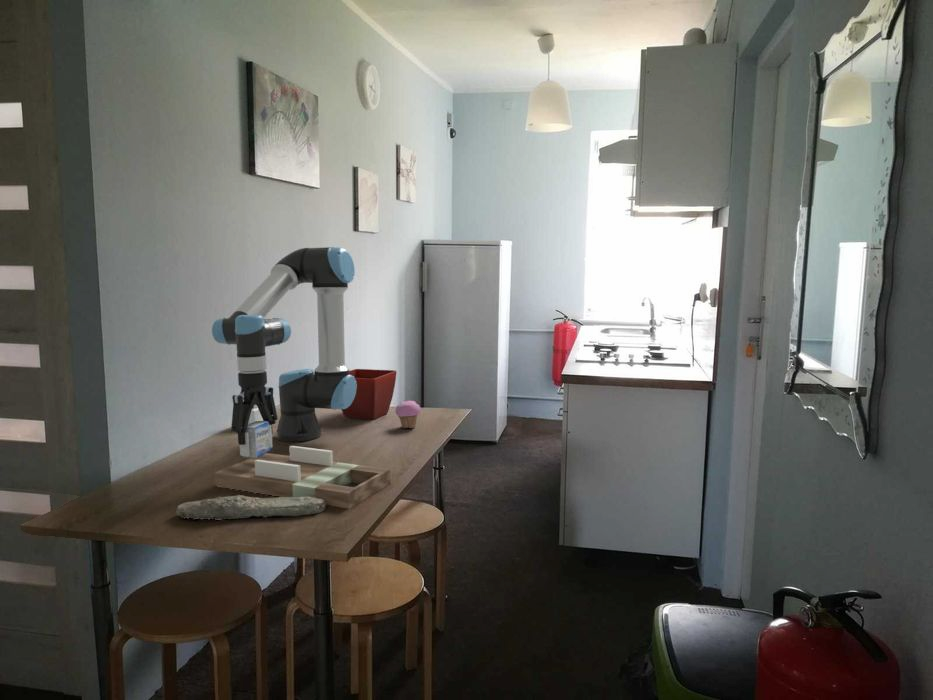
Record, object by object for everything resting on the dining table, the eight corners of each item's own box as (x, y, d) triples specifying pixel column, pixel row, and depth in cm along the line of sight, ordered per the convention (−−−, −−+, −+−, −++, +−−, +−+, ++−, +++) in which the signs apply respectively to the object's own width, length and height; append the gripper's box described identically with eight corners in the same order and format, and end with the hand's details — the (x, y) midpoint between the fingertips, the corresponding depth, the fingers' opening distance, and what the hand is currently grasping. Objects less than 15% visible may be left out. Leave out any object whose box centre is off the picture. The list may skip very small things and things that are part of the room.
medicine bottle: (266, 425, 248) (265, 393, 246) (254, 429, 241) (253, 397, 240) (250, 423, 250) (248, 392, 249) (238, 428, 244) (236, 396, 242)
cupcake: (421, 424, 245) (420, 398, 244) (420, 430, 237) (419, 403, 235) (396, 425, 245) (396, 398, 244) (395, 431, 236) (394, 403, 235)
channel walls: (292, 459, 191) (291, 445, 190) (333, 464, 185) (332, 450, 185) (255, 475, 177) (254, 460, 176) (298, 481, 171) (297, 466, 171)
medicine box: (256, 458, 182) (255, 427, 180) (242, 457, 182) (240, 427, 181) (271, 450, 189) (269, 420, 188) (256, 449, 190) (255, 420, 189)
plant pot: (331, 419, 256) (329, 376, 253) (357, 408, 273) (355, 368, 271) (375, 423, 249) (373, 378, 246) (399, 412, 266) (397, 370, 264)
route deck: (265, 465, 198) (265, 452, 198) (390, 483, 181) (390, 469, 180) (215, 486, 180) (214, 472, 180) (349, 508, 163) (348, 493, 162)
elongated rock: (322, 524, 158) (327, 510, 168) (323, 502, 157) (327, 490, 167) (169, 523, 154) (183, 510, 164) (169, 501, 154) (183, 489, 164)
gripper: (267, 364, 194) (271, 440, 197) (212, 376, 175) (218, 460, 178) (288, 366, 191) (292, 442, 194) (234, 378, 172) (239, 463, 175)
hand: (256, 451), depth 186 cm, fingers closed on medicine box, 8 cm apart
